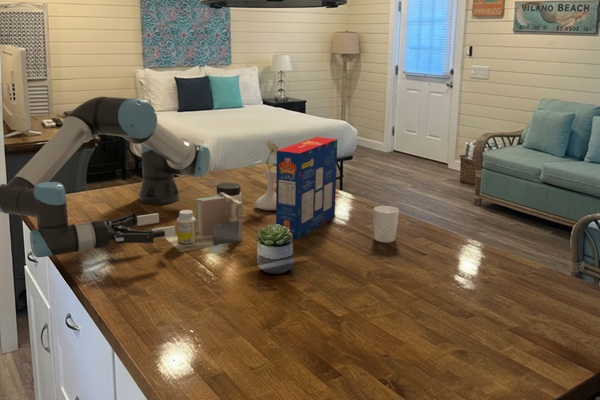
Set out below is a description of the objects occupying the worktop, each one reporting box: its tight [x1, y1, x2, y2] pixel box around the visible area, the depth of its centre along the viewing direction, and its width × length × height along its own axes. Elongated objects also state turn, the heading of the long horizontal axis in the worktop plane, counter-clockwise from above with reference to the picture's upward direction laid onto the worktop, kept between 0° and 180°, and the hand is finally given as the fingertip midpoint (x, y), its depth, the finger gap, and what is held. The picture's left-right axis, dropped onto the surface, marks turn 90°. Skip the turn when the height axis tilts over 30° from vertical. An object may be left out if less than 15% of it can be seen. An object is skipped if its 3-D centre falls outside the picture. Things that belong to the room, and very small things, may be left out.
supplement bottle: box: [176, 209, 197, 247], centre depth 183 cm, size 6×6×10 cm
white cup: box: [373, 205, 400, 243], centre depth 194 cm, size 8×8×10 cm
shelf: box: [164, 192, 244, 253], centre depth 187 cm, size 14×20×13 cm
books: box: [195, 195, 227, 237], centre depth 193 cm, size 5×8×12 cm, turn 121°
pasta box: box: [275, 136, 338, 241], centre depth 203 cm, size 28×8×28 cm, turn 152°
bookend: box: [213, 222, 240, 246], centre depth 185 cm, size 1×8×6 cm, turn 121°
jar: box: [215, 182, 243, 204], centre depth 211 cm, size 9×8×12 cm
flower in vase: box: [254, 139, 279, 211], centre depth 222 cm, size 13×11×25 cm
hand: (166, 223), depth 178 cm, fingers open, 13 cm apart
